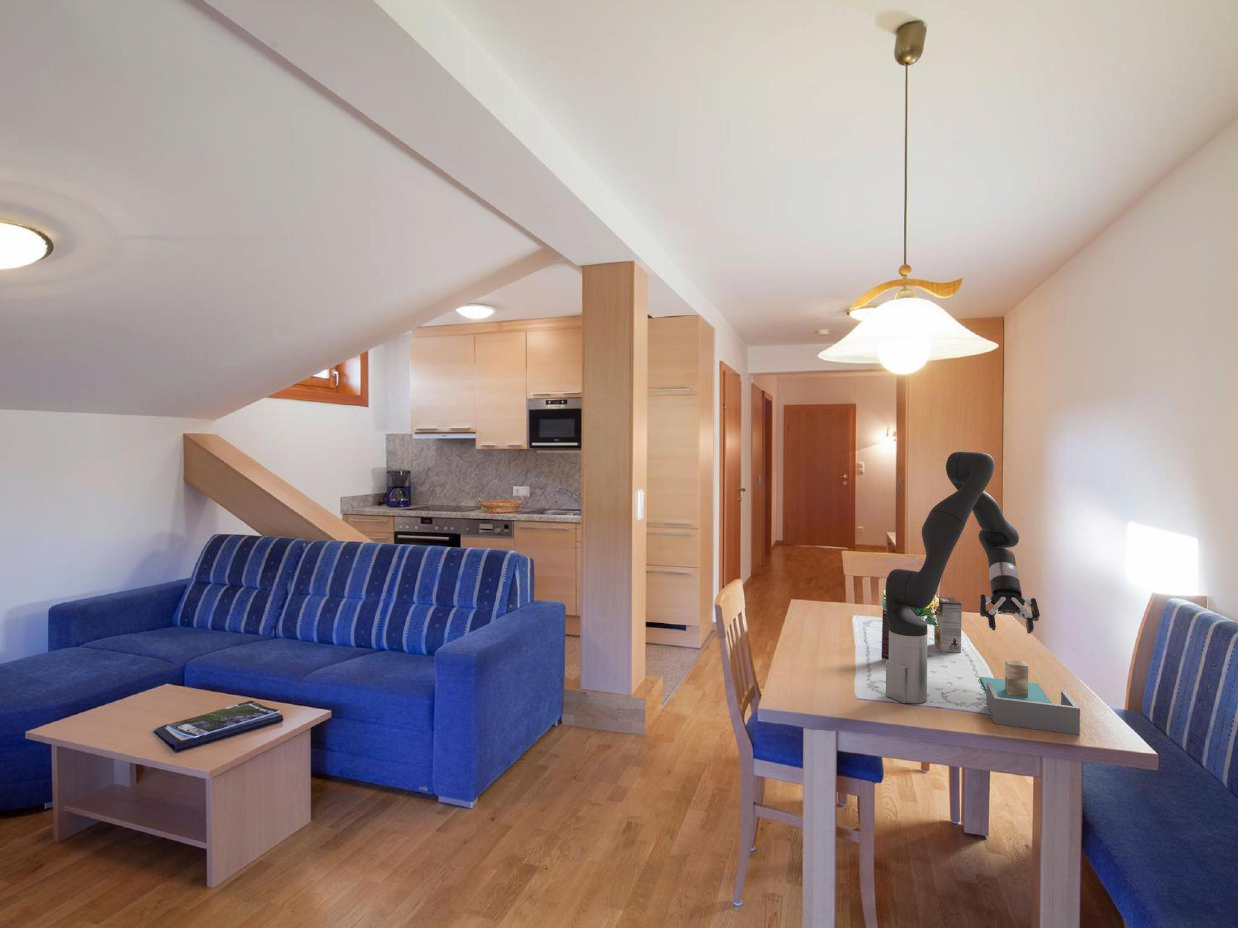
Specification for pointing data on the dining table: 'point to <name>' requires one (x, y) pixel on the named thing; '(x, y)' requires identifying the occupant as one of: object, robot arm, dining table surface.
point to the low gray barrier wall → (1034, 713)
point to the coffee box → (948, 625)
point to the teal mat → (1033, 695)
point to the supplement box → (885, 636)
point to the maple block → (1016, 677)
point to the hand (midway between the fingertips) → (1011, 630)
